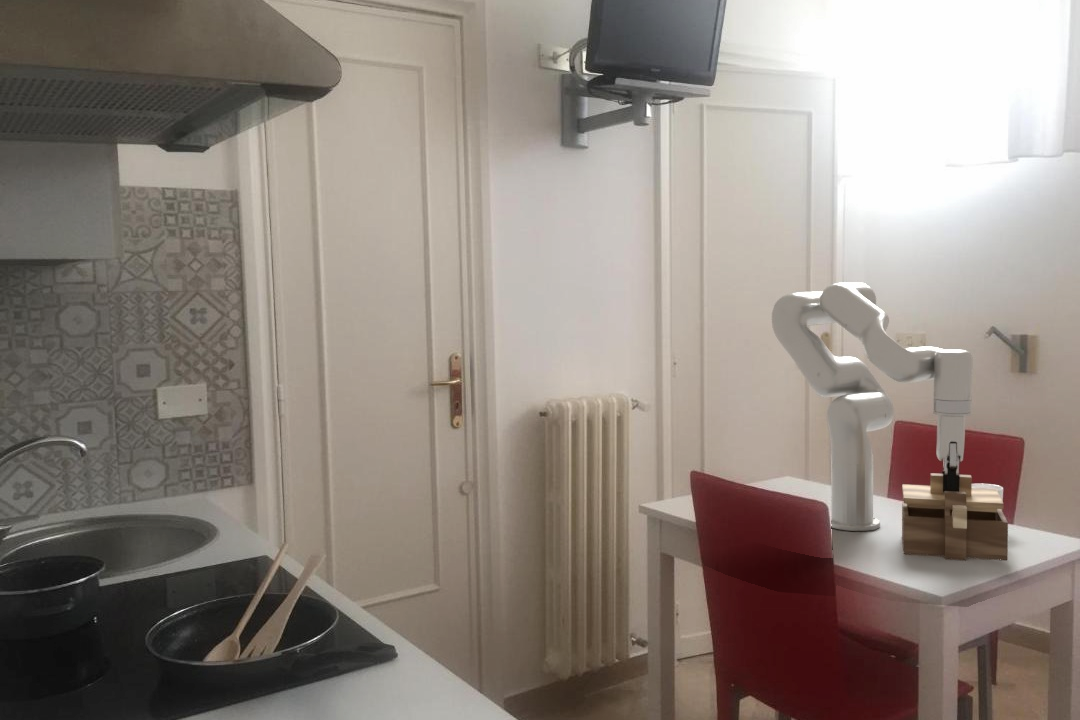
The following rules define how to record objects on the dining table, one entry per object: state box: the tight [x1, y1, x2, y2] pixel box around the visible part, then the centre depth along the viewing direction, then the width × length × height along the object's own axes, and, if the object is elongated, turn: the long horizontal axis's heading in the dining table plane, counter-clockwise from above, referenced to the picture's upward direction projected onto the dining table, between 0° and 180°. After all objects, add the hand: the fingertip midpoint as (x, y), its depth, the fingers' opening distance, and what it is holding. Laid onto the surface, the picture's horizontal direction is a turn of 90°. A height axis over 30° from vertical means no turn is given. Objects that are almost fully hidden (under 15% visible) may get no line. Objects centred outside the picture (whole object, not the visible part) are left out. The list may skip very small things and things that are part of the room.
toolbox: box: [901, 491, 1009, 562], centre depth 200 cm, size 16×20×14 cm
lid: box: [901, 472, 1005, 512], centre depth 201 cm, size 13×19×6 cm
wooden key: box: [952, 505, 967, 529], centre depth 186 cm, size 9×2×4 cm, turn 160°
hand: (950, 490), depth 201 cm, fingers closed on lid, 2 cm apart
